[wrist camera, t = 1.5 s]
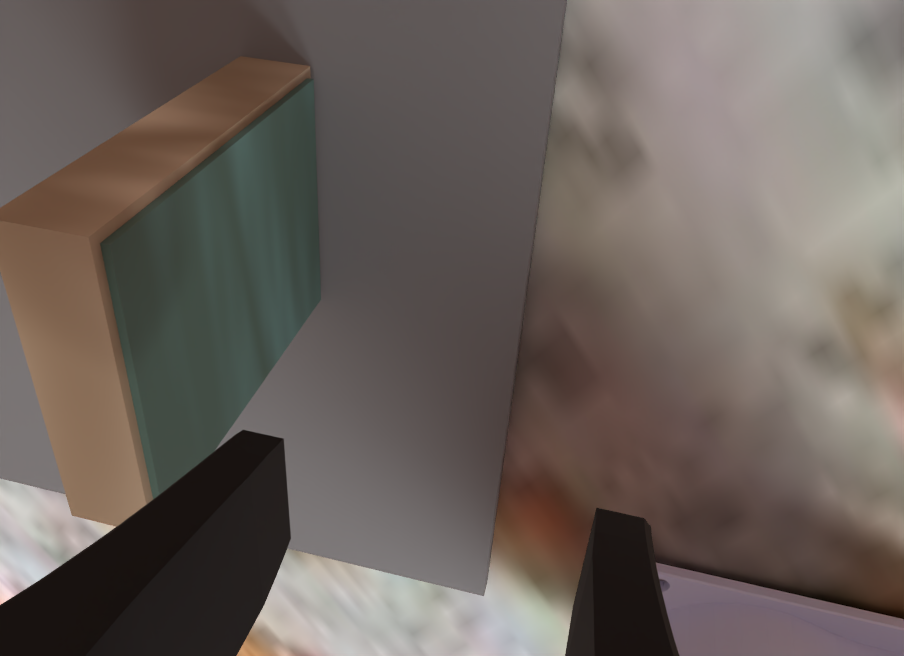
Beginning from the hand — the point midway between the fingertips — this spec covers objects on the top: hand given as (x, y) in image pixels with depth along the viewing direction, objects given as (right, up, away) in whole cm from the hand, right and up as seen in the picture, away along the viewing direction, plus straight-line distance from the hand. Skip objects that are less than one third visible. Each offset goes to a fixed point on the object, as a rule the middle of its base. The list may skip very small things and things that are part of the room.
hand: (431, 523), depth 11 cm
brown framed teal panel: (-4, +6, +8) cm, 11 cm away
